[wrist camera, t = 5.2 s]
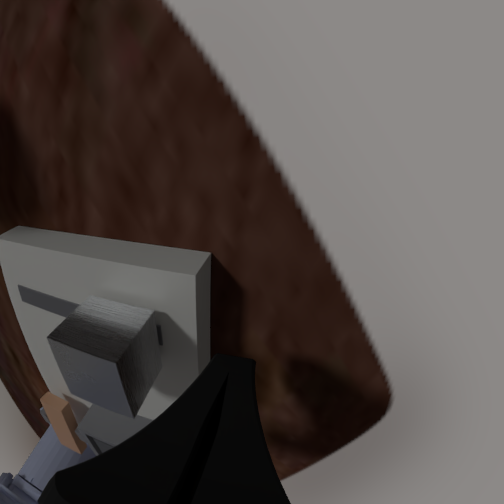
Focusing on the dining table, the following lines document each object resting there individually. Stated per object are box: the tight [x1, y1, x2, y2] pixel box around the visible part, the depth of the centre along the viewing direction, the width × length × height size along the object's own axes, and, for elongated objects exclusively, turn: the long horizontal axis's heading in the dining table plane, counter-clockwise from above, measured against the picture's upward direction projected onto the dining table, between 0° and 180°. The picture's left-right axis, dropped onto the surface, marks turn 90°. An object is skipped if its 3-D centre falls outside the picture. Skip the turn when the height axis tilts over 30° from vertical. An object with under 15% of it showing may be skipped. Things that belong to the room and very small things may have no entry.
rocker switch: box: [40, 392, 87, 455], centre depth 15 cm, size 5×2×1 cm, turn 176°
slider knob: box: [47, 295, 162, 419], centre depth 10 cm, size 3×3×3 cm
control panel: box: [0, 226, 211, 456], centre depth 14 cm, size 18×12×4 cm, turn 175°
